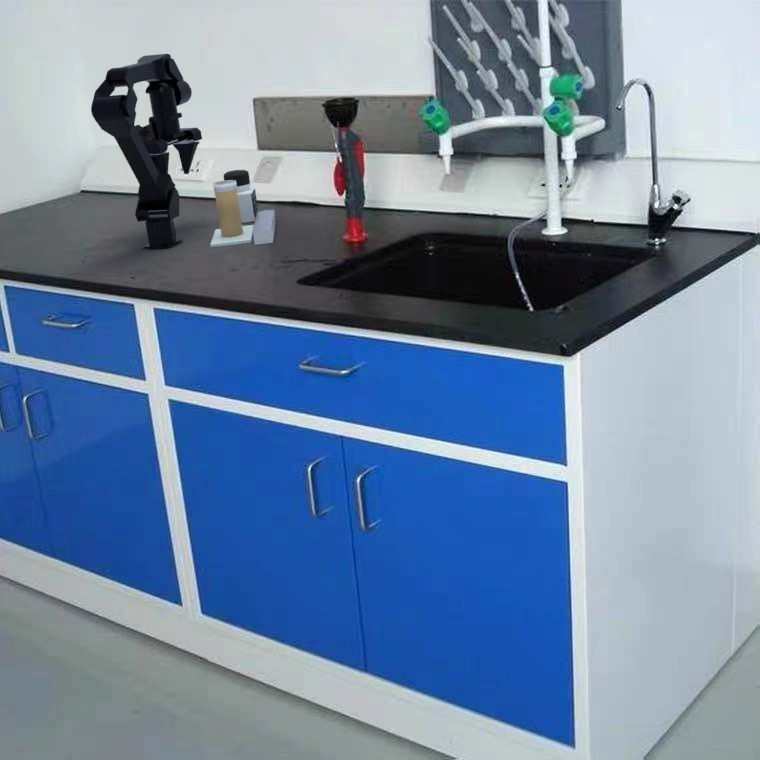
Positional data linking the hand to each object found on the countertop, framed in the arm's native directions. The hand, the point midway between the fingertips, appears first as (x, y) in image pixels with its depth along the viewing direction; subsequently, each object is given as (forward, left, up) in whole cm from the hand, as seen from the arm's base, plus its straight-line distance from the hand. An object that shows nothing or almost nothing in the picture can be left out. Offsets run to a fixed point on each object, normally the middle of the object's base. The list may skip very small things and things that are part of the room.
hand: (175, 178), depth 295 cm
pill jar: (-5, -16, -12) cm, 21 cm away
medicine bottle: (+12, -9, -13) cm, 20 cm away
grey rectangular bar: (0, -22, -13) cm, 26 cm away
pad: (-5, -16, -13) cm, 21 cm away
